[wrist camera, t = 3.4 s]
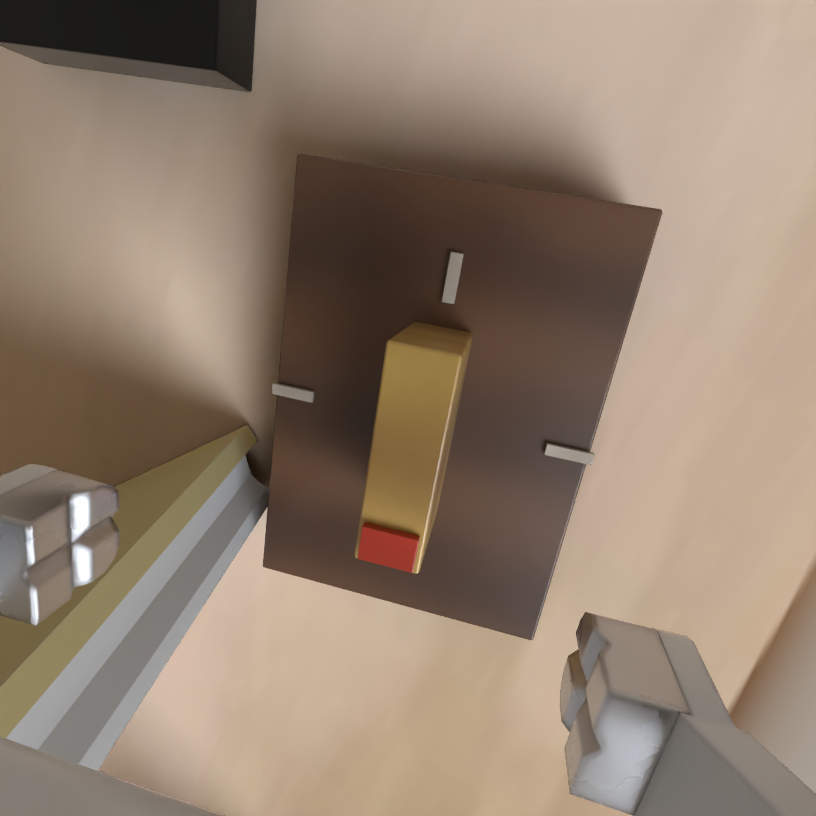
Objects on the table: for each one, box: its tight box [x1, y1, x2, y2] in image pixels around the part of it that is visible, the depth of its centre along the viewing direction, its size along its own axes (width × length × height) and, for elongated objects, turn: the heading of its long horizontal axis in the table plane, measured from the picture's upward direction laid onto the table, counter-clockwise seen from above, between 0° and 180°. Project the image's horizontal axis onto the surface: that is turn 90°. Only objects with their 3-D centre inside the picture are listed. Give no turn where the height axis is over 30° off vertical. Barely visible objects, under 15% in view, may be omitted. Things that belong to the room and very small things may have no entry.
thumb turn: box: [355, 322, 473, 574], centre depth 14 cm, size 6×2×4 cm, turn 171°
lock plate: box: [263, 154, 662, 640], centre depth 17 cm, size 14×10×3 cm
